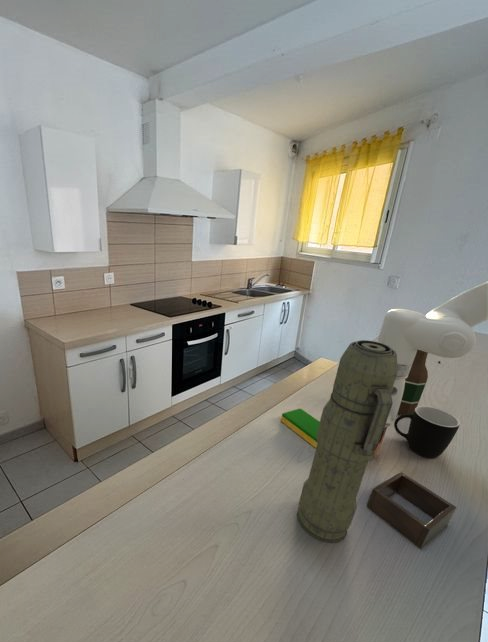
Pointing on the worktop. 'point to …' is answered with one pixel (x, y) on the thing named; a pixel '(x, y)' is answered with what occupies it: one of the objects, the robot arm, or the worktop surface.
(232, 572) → the worktop surface
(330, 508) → the thermos
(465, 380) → the worktop surface
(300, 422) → the dish sponge
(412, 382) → the beer bottle
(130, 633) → the worktop surface
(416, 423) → the mug
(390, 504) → the brown rectangular open box
